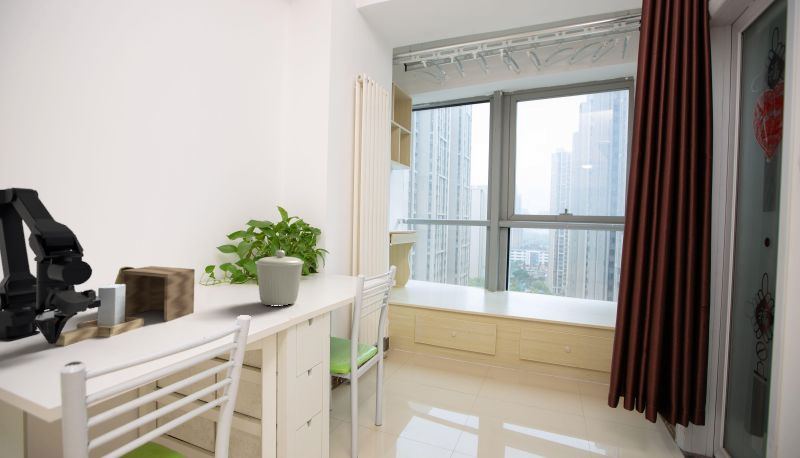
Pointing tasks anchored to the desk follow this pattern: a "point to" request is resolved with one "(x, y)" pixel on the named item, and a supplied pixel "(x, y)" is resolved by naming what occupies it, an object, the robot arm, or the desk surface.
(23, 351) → the desk surface
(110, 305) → the skincare box
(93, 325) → the wooden tray with handle
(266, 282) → the canister
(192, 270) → the wooden open box
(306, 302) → the desk surface
